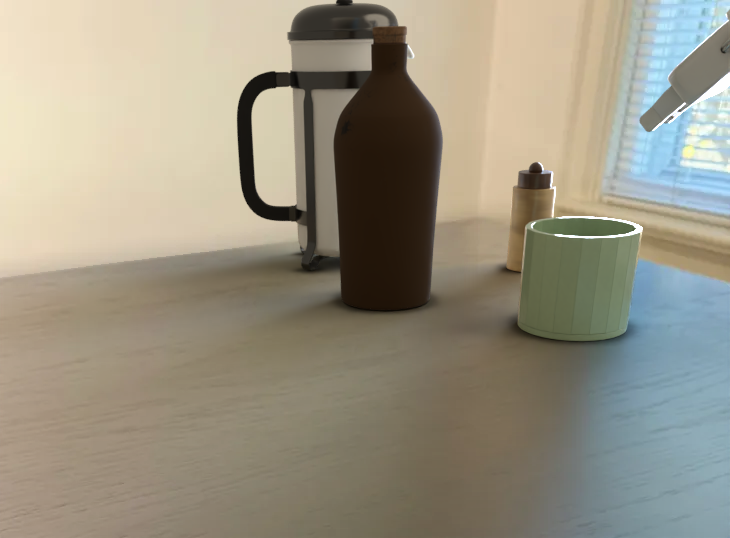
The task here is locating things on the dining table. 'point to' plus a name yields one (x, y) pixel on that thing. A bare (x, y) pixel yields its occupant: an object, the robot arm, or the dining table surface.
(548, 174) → the pepper mill
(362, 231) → the olive oil
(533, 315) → the cup
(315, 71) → the coffee press
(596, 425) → the dining table surface
